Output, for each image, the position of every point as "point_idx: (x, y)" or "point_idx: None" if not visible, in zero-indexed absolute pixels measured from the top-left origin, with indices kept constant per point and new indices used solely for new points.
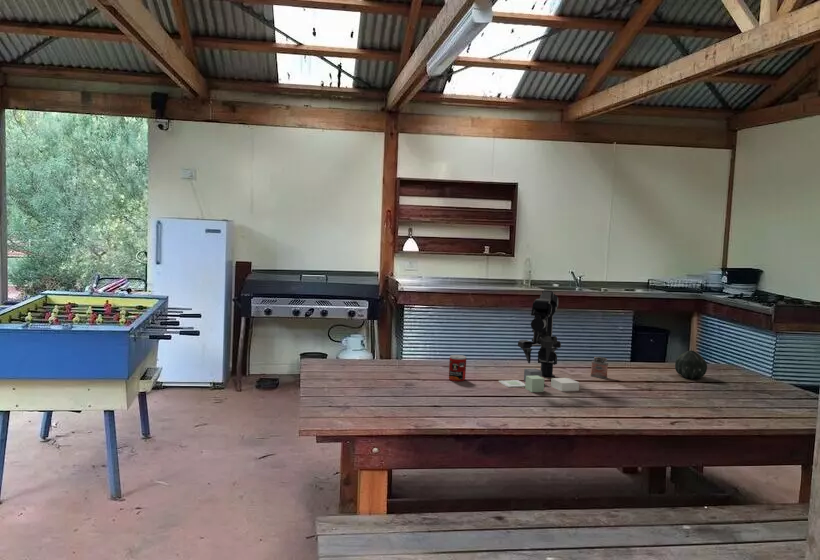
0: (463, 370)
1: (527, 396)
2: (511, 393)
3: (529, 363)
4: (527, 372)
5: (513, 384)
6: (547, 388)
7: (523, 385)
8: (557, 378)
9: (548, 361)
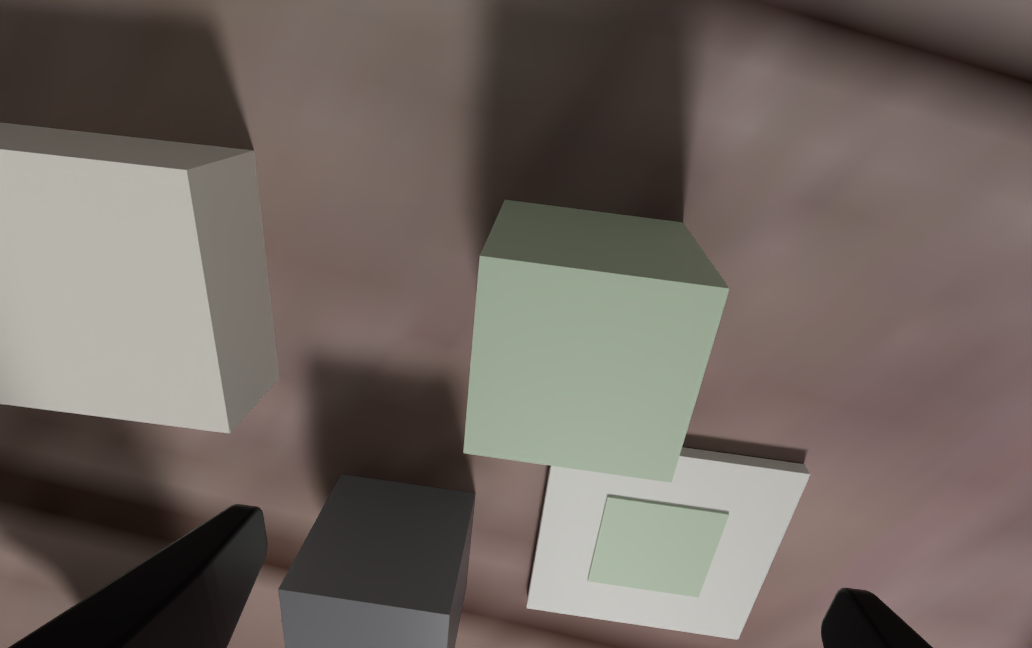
0: None
1: (920, 34)
2: (997, 244)
3: (852, 590)
4: (451, 640)
5: (693, 508)
6: (368, 314)
7: None
8: (147, 408)
9: (213, 529)
